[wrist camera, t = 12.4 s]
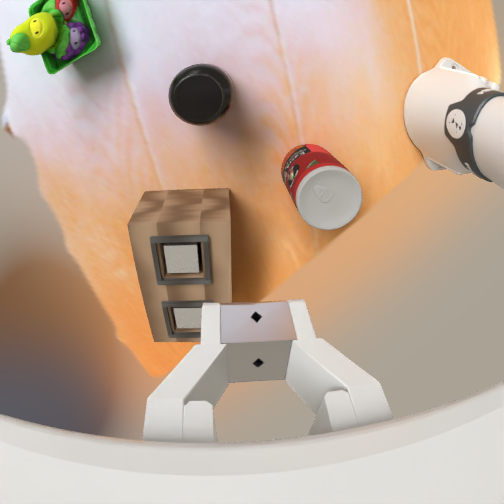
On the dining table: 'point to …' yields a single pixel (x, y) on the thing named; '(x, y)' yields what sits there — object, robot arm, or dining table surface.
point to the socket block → (172, 231)
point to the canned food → (321, 187)
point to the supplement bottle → (201, 94)
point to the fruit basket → (56, 33)
